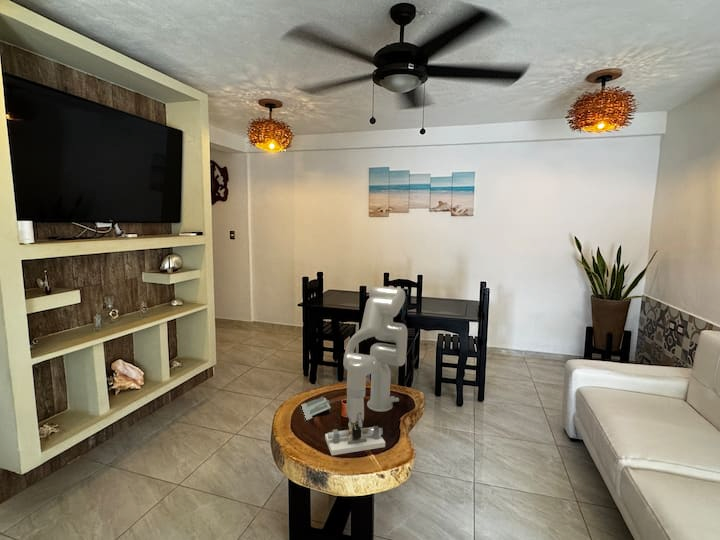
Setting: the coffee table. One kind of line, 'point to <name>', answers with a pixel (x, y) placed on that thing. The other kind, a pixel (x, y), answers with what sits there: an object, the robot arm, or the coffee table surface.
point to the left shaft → (373, 431)
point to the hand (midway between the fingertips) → (354, 433)
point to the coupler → (351, 427)
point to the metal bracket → (315, 407)
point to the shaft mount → (351, 442)
